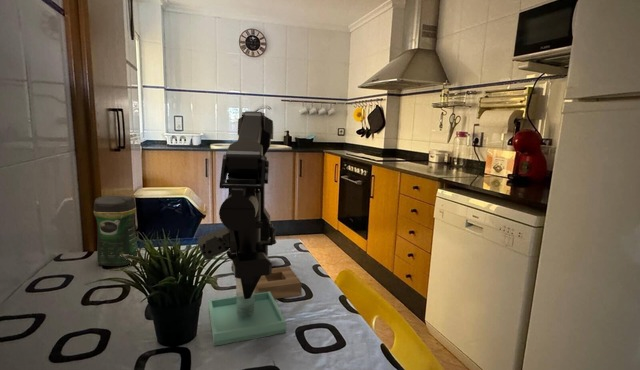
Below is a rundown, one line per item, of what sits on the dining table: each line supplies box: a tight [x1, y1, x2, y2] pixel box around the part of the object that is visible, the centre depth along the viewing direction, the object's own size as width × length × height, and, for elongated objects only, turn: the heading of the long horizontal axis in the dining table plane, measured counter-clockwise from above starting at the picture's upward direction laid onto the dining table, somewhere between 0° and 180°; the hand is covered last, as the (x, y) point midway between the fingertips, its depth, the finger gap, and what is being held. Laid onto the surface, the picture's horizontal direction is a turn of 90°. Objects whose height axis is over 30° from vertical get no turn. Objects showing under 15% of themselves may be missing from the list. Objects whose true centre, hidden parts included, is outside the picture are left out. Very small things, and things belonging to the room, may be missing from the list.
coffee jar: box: [93, 195, 139, 267], centre depth 95 cm, size 10×8×19 cm
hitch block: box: [255, 266, 302, 300], centre depth 83 cm, size 10×10×3 cm
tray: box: [207, 291, 287, 347], centre depth 69 cm, size 13×13×2 cm
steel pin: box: [231, 270, 255, 317], centre depth 68 cm, size 5×5×10 cm
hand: (245, 293), depth 68 cm, fingers closed on steel pin, 4 cm apart
